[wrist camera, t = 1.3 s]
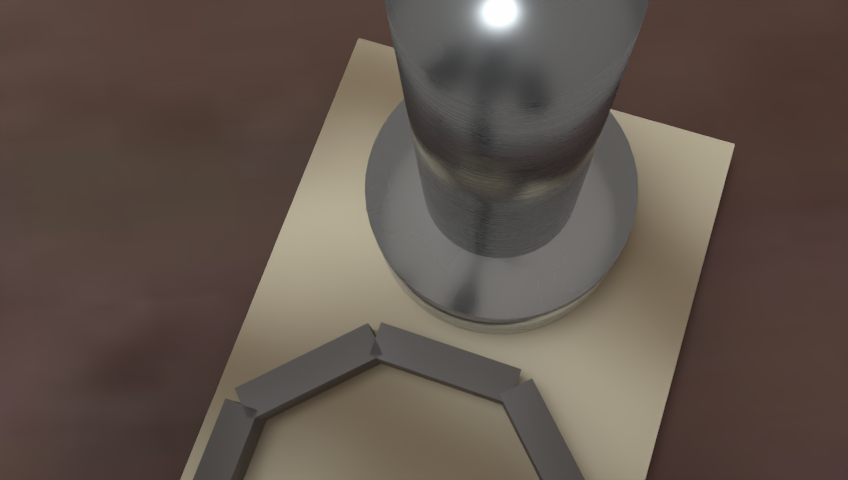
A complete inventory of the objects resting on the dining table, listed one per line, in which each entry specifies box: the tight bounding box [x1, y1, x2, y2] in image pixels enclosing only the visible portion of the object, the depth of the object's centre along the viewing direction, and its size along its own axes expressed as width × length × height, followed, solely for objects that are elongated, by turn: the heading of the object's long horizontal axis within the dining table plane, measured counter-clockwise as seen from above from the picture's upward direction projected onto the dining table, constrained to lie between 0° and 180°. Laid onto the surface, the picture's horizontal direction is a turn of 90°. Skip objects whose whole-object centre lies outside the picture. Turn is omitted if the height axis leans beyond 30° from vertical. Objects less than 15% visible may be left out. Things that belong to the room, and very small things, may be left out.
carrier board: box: [180, 38, 735, 480], centre depth 18 cm, size 20×10×3 cm, turn 161°
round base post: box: [365, 0, 649, 334], centre depth 15 cm, size 6×6×10 cm
